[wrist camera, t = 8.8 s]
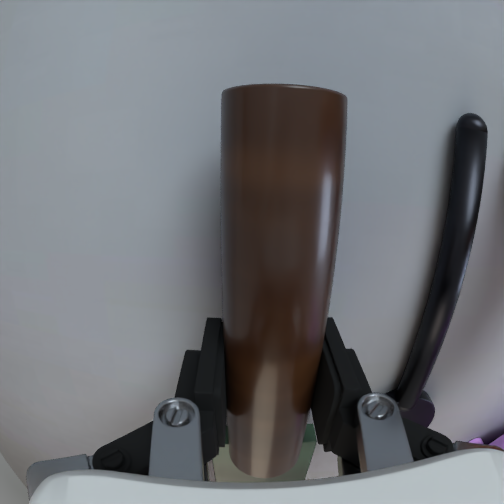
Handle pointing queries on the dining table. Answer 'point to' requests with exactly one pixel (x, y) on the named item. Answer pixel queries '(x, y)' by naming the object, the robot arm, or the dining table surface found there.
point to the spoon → (446, 268)
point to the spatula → (276, 269)
